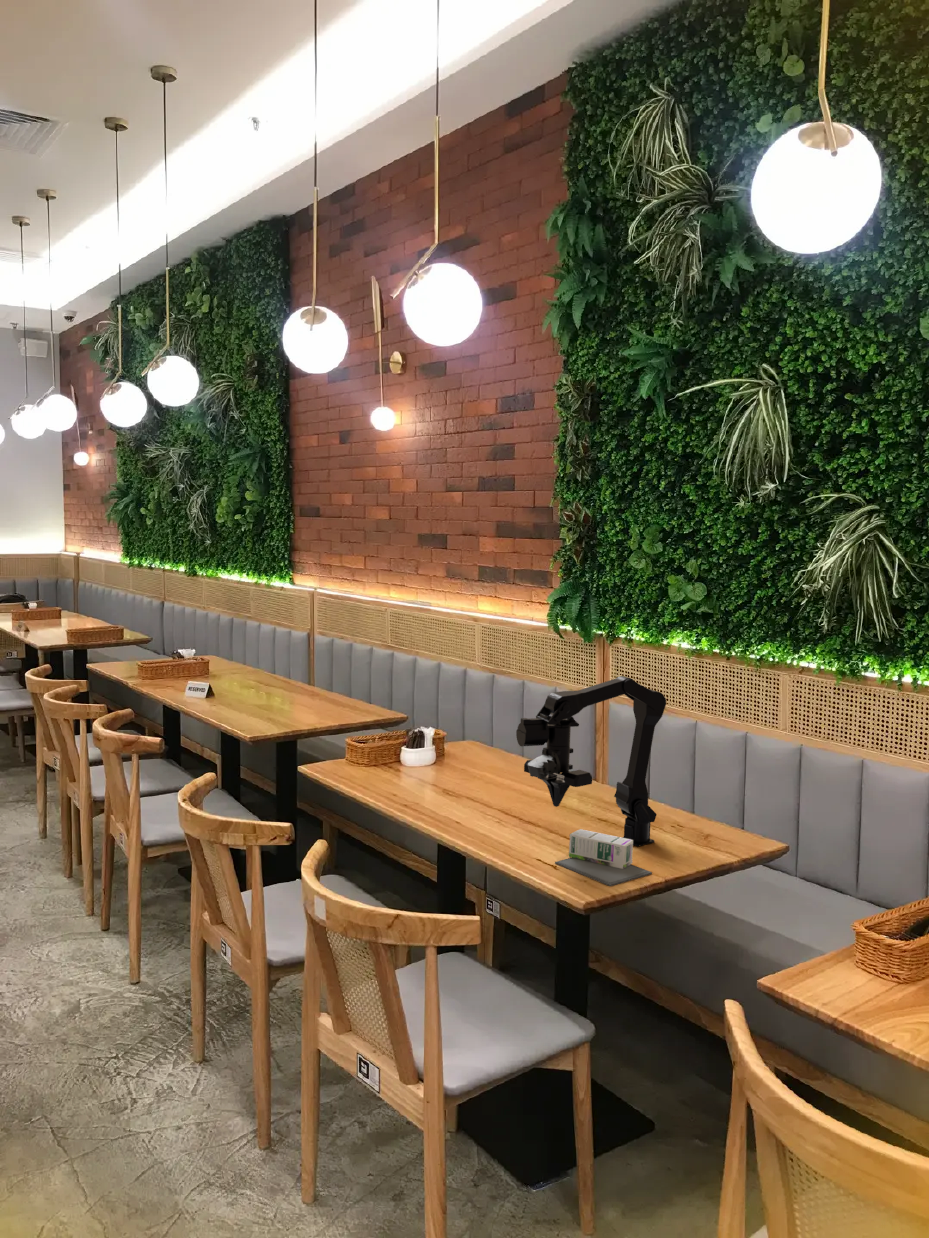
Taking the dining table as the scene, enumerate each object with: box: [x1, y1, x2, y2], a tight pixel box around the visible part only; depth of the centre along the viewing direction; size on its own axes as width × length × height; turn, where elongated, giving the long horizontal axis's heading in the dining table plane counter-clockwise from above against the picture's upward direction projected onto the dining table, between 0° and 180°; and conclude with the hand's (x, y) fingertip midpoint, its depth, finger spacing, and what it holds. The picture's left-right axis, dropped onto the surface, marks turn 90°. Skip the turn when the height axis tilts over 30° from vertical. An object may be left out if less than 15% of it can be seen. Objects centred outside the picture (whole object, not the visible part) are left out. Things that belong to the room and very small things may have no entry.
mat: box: [554, 857, 653, 887], centre depth 226 cm, size 14×18×1 cm
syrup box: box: [568, 828, 634, 869], centre depth 230 cm, size 6×6×14 cm
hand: (556, 806), depth 237 cm, fingers closed
